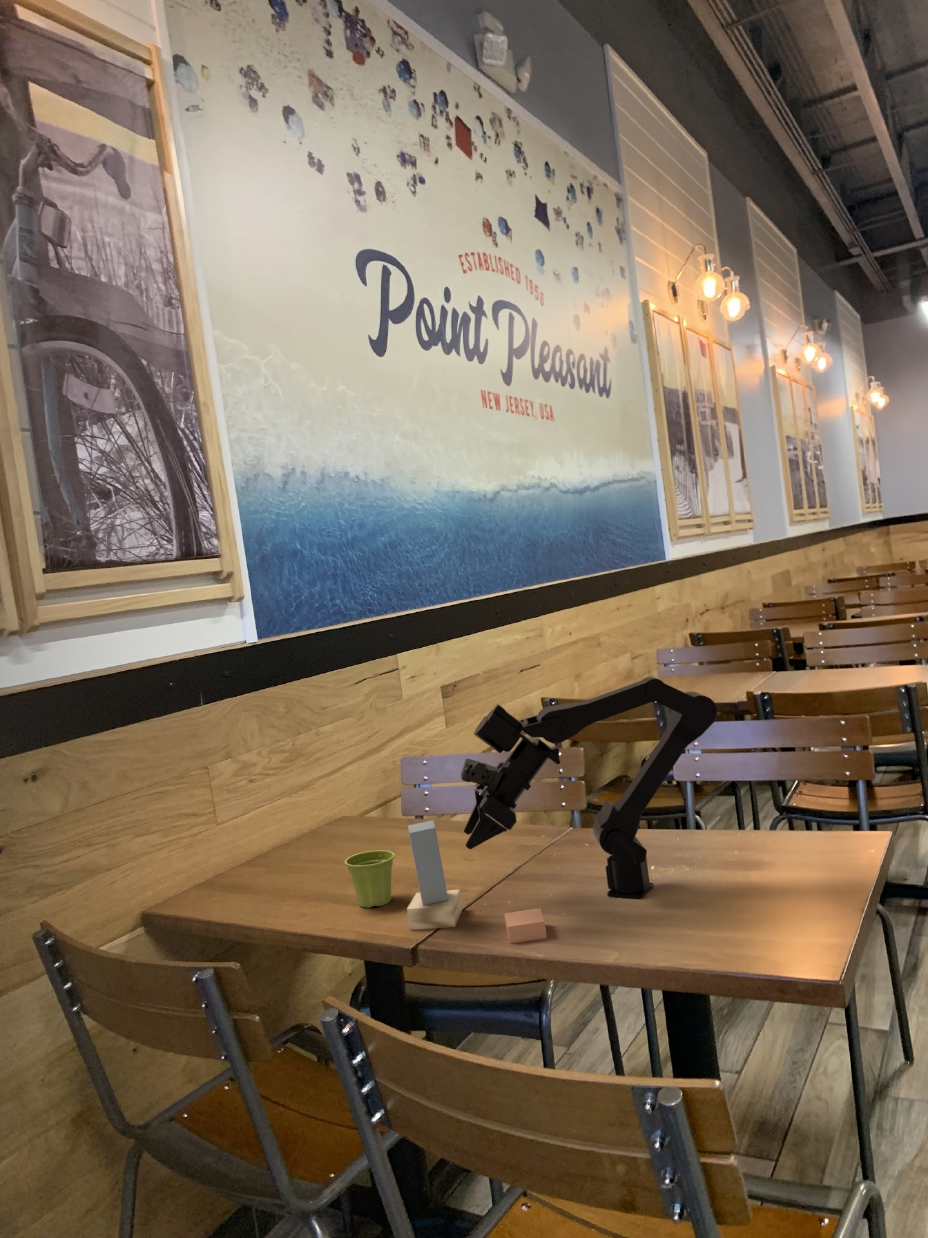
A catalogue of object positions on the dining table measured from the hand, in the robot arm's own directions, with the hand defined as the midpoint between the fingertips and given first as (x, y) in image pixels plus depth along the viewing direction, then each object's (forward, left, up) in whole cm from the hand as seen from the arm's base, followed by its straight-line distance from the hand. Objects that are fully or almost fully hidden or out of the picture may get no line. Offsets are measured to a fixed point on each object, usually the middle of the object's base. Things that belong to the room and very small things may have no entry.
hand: (466, 840), depth 162 cm
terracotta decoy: (-13, +6, -13) cm, 20 cm away
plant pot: (+23, -1, -13) cm, 27 cm away
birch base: (+6, +4, -14) cm, 15 cm away
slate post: (+6, +4, -9) cm, 12 cm away
